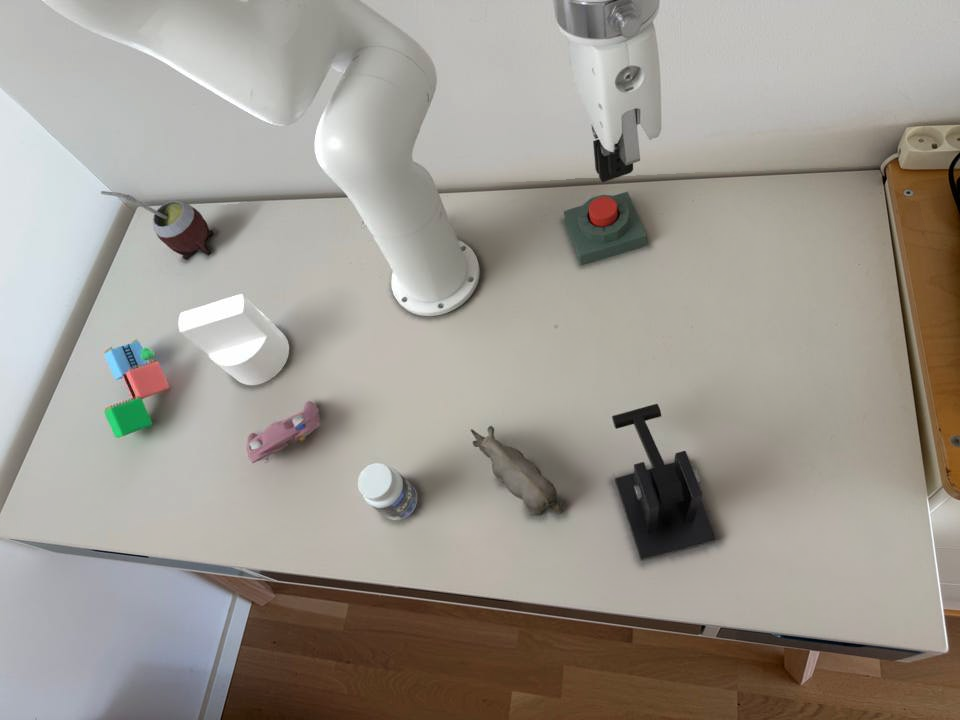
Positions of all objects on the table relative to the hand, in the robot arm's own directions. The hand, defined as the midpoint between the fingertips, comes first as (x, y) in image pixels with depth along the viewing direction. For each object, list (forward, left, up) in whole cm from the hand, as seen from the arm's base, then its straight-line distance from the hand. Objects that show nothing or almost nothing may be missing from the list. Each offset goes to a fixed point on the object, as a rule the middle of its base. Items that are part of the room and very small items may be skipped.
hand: (614, 171), depth 62 cm
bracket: (+27, -4, -24) cm, 36 cm away
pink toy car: (+6, -46, -24) cm, 52 cm away
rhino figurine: (+19, -18, -24) cm, 36 cm away
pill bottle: (+18, -33, -24) cm, 44 cm away
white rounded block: (-8, -50, -24) cm, 56 cm away
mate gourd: (-32, -60, -24) cm, 72 cm away
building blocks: (-7, -68, -24) cm, 72 cm away
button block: (-11, +1, -24) cm, 27 cm away
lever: (+23, -4, -17) cm, 29 cm away
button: (-11, +1, -20) cm, 23 cm away
